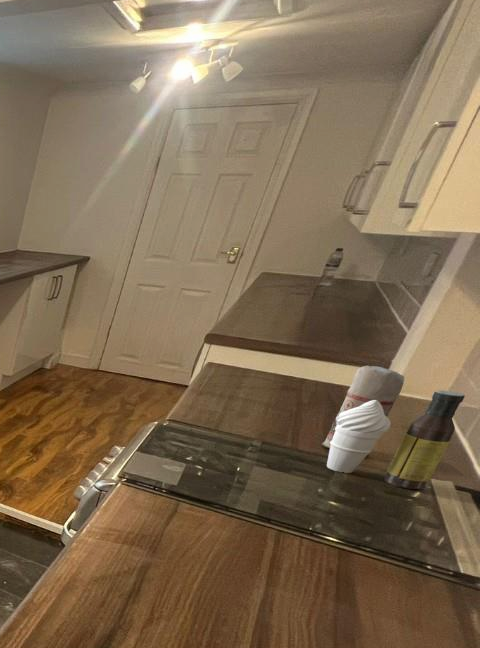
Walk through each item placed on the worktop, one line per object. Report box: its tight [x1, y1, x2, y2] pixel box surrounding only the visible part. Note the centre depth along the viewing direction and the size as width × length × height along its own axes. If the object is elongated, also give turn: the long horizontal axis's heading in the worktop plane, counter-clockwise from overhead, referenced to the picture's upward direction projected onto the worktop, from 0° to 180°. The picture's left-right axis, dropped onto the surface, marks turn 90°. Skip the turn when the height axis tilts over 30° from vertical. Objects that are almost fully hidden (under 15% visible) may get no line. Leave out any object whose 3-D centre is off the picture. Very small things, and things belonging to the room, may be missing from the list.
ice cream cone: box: [326, 400, 392, 474], centre depth 124 cm, size 8×8×16 cm
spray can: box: [321, 365, 405, 449], centre depth 134 cm, size 8×8×20 cm
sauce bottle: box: [383, 390, 466, 490], centre depth 117 cm, size 6×6×20 cm
